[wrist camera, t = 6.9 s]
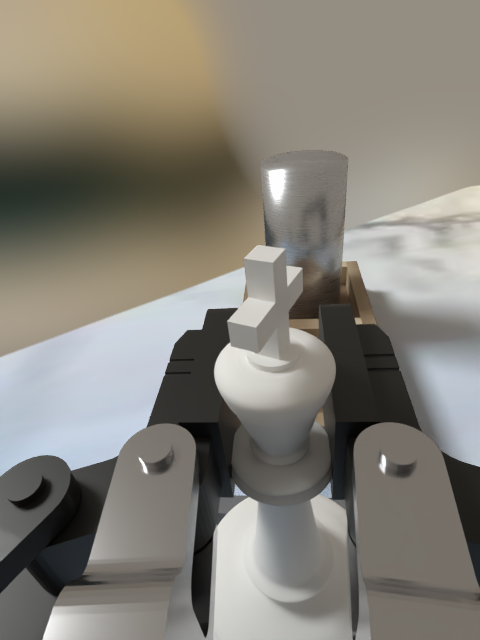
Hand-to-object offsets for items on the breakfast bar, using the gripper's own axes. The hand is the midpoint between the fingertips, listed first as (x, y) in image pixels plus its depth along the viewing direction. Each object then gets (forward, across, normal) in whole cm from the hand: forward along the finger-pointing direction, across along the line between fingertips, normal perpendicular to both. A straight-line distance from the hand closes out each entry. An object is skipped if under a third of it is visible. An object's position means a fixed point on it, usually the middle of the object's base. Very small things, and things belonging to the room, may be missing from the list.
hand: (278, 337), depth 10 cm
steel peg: (+16, -1, +10) cm, 19 cm away
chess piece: (-3, 0, +6) cm, 7 cm away
